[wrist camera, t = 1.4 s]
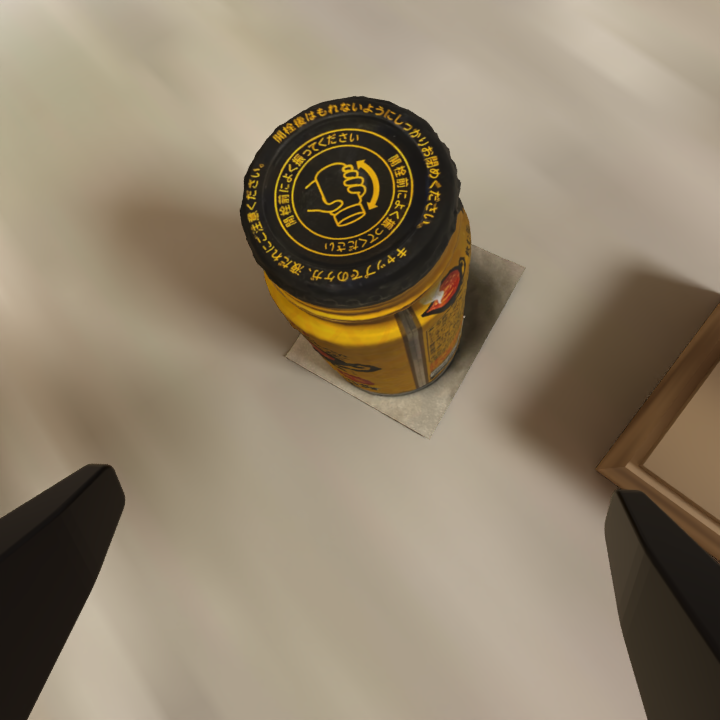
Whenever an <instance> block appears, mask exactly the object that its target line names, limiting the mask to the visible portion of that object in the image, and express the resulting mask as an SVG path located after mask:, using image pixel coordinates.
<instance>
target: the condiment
mask: <svg viewBox="0 0 720 720" xmlns="http://www.w3.org/2000/svg"><path fill="white" fill-rule="evenodd" d="M460 186H461V182H460V180H459V179H458V178H457V169H456V164H455V163H454V161H453V160H452V159H451V156H450V151H449V148H447V147H446V145H445V143H443V142H441V141H440V139H439V138H438V135H437V133H435V132H434V130H433V128H432V127H431V126H430V124H429V123H428V122H427V121H425V120H424V119H422V118H421V117H419V116H417V115H416V114H414V113H413V112H411V111H410V110H408V109H405V108H402V107H399V106H397V105H396V104H394V103H392V102H390V101H385V100H379V99H373V98H367V97H364V96H360V97H357V96H353V97H348V98H342V99H336V100H331V101H326V102H322V103H319V104H317V105H314V106H312V107H309V108H308V109H307V110H304V111H302V112H301V113H299V114H297V115H296V116H294V117H293V118H291V119H290V120H288V121H287V122H285V123H284V124H282V125H279V126H278V127H277V128H276V129H275V130H274V132H273V133H272V134H271V135H270V136H269V137H268V138H267V139H266V141H265V142H264V144H263V145H262V147H261V148H260V149H259V151H258V152H257V153H256V155H255V158H254V160H253V161H252V163H251V165H250V166H249V168H248V171H247V173H246V175H245V177H244V193H243V200H242V205H241V208H240V216H241V222H242V226H243V229H244V232H245V235H246V240H247V241H248V244H249V246H250V248H251V250H252V253H253V256H254V258H255V260H256V262H257V263H258V264H259V265H260V266H261V267H262V268H263V269H264V276H265V281H266V284H267V286H268V289H269V292H270V295H271V297H272V298H273V300H274V301H275V303H276V305H277V306H278V308H279V309H280V311H281V312H282V313H283V314H284V315H285V317H286V318H287V320H288V321H289V322H290V324H291V326H292V327H293V328H295V329H297V330H298V331H299V332H300V335H299V337H298V338H297V340H296V342H295V343H294V345H293V346H292V348H291V349H290V351H289V352H288V353H287V355H286V356H285V357H286V358H288V359H290V360H292V361H293V362H295V363H297V364H299V365H300V366H302V367H304V368H306V369H307V370H309V371H311V372H312V373H314V374H316V375H318V376H319V377H321V378H323V379H325V380H326V381H328V382H330V383H332V384H333V385H335V386H337V387H338V388H340V389H342V390H344V391H345V392H347V393H349V394H351V395H352V396H354V397H356V398H358V399H359V400H361V401H363V402H365V403H366V404H368V405H370V406H372V407H373V408H375V409H377V410H379V411H380V412H382V413H384V414H386V415H387V416H389V417H391V418H392V419H394V420H397V421H398V422H400V423H402V424H403V425H405V426H407V427H409V428H410V429H412V430H414V431H416V432H417V433H419V434H421V435H423V436H424V437H426V438H428V439H430V437H431V436H432V434H433V432H434V430H435V429H436V427H437V425H438V423H439V421H440V420H441V418H442V416H443V414H444V413H445V411H446V409H447V407H448V406H449V404H450V402H451V400H452V398H453V397H454V395H455V393H456V391H457V390H458V388H459V386H460V384H461V382H462V381H463V379H464V377H465V376H466V374H467V372H468V370H469V368H470V366H471V365H472V363H473V361H474V359H475V357H476V356H477V354H478V352H479V351H480V349H481V347H482V345H483V343H484V341H485V339H486V338H487V336H488V334H489V332H490V330H491V329H492V327H493V325H494V324H495V322H496V320H497V318H498V317H499V315H500V313H501V311H502V310H503V308H504V306H505V304H506V302H507V300H508V299H509V297H510V295H511V293H512V291H513V289H514V288H515V286H516V284H517V282H518V281H519V279H520V277H521V275H522V274H523V272H524V270H525V267H523V266H520V265H518V264H516V263H514V262H512V261H509V260H506V259H503V258H501V257H499V256H497V255H495V254H492V253H490V252H488V251H485V250H483V249H481V248H479V247H477V246H475V245H472V244H471V233H470V225H469V220H468V217H467V214H466V212H465V210H464V207H463V205H462V202H461V200H460V198H459V197H458V196H459V193H460ZM463 316H465V318H463Z"/></svg>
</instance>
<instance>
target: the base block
mask: <svg viewBox="0 0 720 720" xmlns="http://www.w3.org/2000/svg"><path fill="white" fill-rule="evenodd" d="M595 470H597V471H598V472H599V473H601V474H602V475H603V476H605V477H606V478H607V479H609V480H610V481H612V482H613V483H614V484H616V485H617V486H618V487H620V488H621V489H627V490H640V491H642V492H644V493H645V494H646V495H647V496H648V497H649V498H650V499H651V500H652V501H653V502H655V503H656V504H657V505H658V506H659V507H660V508H661V509H662V510H663V511H664V512H665V513H666V514H667V515H668V516H669V517H670V518H671V519H672V520H673V521H675V522H676V523H677V524H678V525H679V526H680V527H681V528H682V529H683V530H684V531H685V532H686V533H687V534H688V535H689V536H690V537H691V538H692V539H693V540H694V541H696V542H697V543H698V544H699V545H700V546H701V547H702V548H703V549H704V550H705V551H707V552H708V553H709V554H711V555H712V556H713V557H715V558H716V559H717V560H719V561H720V303H719V304H718V305H717V307H716V308H715V309H714V311H713V312H712V313H711V315H710V316H709V317H708V319H707V320H706V321H705V323H704V324H703V325H702V327H701V328H700V329H699V331H698V332H697V333H696V335H695V336H694V337H693V339H692V340H691V341H690V343H689V344H688V345H687V347H686V348H685V349H684V351H683V352H682V353H681V355H680V356H679V357H678V359H677V360H676V361H675V363H674V364H673V365H672V367H671V368H670V370H669V371H668V372H667V374H666V375H665V376H664V378H663V379H662V380H661V382H660V383H659V384H658V386H657V387H656V388H655V390H654V391H653V392H652V394H651V395H650V396H649V398H648V399H647V400H646V402H645V403H644V404H643V406H642V407H641V408H640V410H639V411H638V412H637V414H636V415H635V416H634V418H633V419H632V420H631V422H630V423H629V424H628V426H627V427H626V428H625V430H624V431H623V432H622V434H621V435H620V436H619V438H618V439H617V440H616V442H615V443H614V445H613V446H612V447H611V449H610V450H609V451H608V453H607V454H606V455H605V457H604V458H603V459H602V461H601V462H600V463H599V465H598V466H597V467H596V469H595Z"/></svg>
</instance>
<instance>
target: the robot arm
mask: <svg viewBox="0 0 720 720" xmlns="http://www.w3.org/2000/svg"><path fill="white" fill-rule="evenodd" d="M124 505H125V495H124V492H123V489H122V487H121V485H120V482H119V480H118V477H117V475H116V473H115V470H114V468H113V467H112V466H110V465H108V464H88V465H86V466H84V467H82V468H81V469H79V470H78V471H76V472H74V473H73V474H71V475H70V476H68V477H66V478H65V479H63V480H61V481H60V482H58V483H57V484H55V485H53V486H52V487H50V488H49V489H47V490H45V491H44V492H42V493H41V494H39V495H37V496H36V497H34V498H33V499H31V500H29V501H28V502H26V503H24V504H23V505H21V506H20V507H18V508H16V509H15V510H13V511H12V512H10V513H8V514H7V515H5V516H3V517H2V518H0V720H27V719H28V717H29V715H30V713H31V711H32V709H33V707H34V705H35V703H36V701H37V699H38V697H39V695H40V693H41V691H42V689H43V687H44V685H45V683H46V681H47V679H48V677H49V675H50V673H51V671H52V669H53V667H54V665H55V663H56V661H57V659H58V657H59V655H60V653H61V651H62V649H63V647H64V645H65V643H66V641H67V639H68V637H69V635H70V633H71V631H72V629H73V627H74V625H75V623H76V621H77V619H78V617H79V615H80V613H81V611H82V609H83V607H84V605H85V602H86V600H87V598H88V596H89V594H90V592H91V590H92V588H93V586H94V584H95V582H96V579H97V577H98V574H99V572H100V570H101V567H102V564H103V562H104V559H105V556H106V554H107V551H108V548H109V546H110V543H111V541H112V538H113V535H114V533H115V530H116V527H117V525H118V522H119V519H120V517H121V514H122V512H123V509H124ZM605 540H606V545H607V551H608V557H609V563H610V569H611V575H612V580H613V586H614V592H615V598H616V604H617V610H618V615H619V620H620V625H621V629H622V633H623V637H624V641H625V644H626V647H627V651H628V654H629V658H630V661H631V665H632V668H633V671H634V675H635V678H636V682H637V685H638V689H639V692H640V695H641V699H642V702H643V706H644V709H645V712H646V716H647V719H648V720H720V564H719V563H718V562H717V561H716V560H714V559H713V558H712V557H711V556H710V555H709V554H708V553H707V552H706V551H705V550H704V549H703V548H702V547H701V546H700V545H699V544H698V543H697V542H696V541H694V540H693V539H692V538H691V537H690V536H689V535H688V534H687V533H686V532H685V531H684V530H683V529H682V528H681V527H680V526H679V525H678V524H677V523H676V522H675V521H673V520H672V519H671V518H670V517H669V516H668V515H667V514H666V513H665V512H664V511H663V510H662V509H661V508H660V507H659V506H658V505H657V504H656V503H655V502H653V501H652V500H651V499H650V498H649V497H648V496H647V495H646V494H645V493H644V492H642V491H640V490H627V489H617V490H615V491H614V492H613V494H612V497H611V501H610V505H609V509H608V513H607V517H606V520H605Z"/></svg>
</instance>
